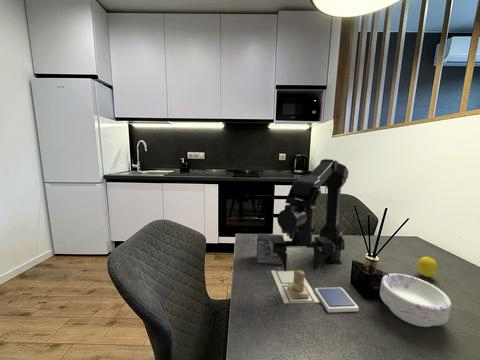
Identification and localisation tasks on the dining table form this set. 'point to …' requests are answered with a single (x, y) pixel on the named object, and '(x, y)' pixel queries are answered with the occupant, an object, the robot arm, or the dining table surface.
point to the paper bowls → (415, 300)
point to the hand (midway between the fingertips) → (299, 270)
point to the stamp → (298, 286)
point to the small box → (266, 250)
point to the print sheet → (287, 278)
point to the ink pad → (336, 300)
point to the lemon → (427, 266)
